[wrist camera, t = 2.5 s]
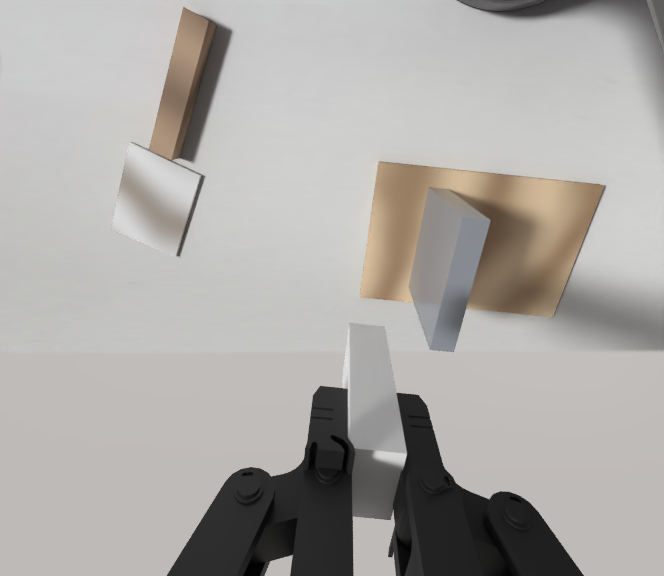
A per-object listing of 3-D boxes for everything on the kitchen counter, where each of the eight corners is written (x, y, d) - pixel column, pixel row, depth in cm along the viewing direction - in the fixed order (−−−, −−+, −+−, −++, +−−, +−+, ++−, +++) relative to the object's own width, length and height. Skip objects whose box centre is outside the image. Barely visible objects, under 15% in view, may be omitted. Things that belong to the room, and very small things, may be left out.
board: (359, 294, 35) (360, 297, 34) (378, 161, 30) (379, 162, 29) (549, 313, 35) (552, 317, 34) (600, 184, 30) (604, 185, 29)
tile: (408, 287, 34) (429, 349, 25) (428, 186, 30) (462, 217, 21) (427, 289, 34) (456, 352, 25) (450, 189, 30) (493, 220, 21)
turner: (164, -3, 26) (153, -10, 25) (243, 40, 27) (237, 36, 25) (113, 228, 33) (102, 233, 32) (177, 255, 34) (169, 261, 33)
